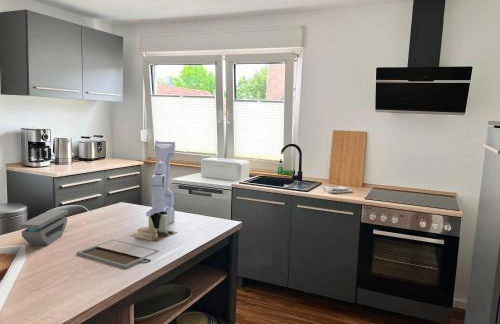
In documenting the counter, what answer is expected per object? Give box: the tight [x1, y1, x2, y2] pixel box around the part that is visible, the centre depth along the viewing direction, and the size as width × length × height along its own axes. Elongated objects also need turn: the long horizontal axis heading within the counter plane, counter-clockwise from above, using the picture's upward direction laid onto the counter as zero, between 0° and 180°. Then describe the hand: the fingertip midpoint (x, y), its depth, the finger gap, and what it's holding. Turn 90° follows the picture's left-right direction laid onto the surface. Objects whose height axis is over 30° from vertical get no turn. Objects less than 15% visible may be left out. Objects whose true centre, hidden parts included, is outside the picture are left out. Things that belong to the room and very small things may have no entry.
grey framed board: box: [75, 239, 160, 270], centre depth 156 cm, size 19×2×30 cm
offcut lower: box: [134, 231, 158, 241], centre depth 175 cm, size 5×9×2 cm, turn 64°
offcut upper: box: [137, 226, 157, 235], centre depth 174 cm, size 4×8×2 cm, turn 70°
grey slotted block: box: [19, 208, 69, 246], centre depth 169 cm, size 25×8×11 cm, turn 0°
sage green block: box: [148, 214, 169, 233], centre depth 182 cm, size 2×10×9 cm, turn 64°
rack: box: [129, 229, 179, 243], centre depth 180 cm, size 16×16×2 cm
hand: (158, 227), depth 182 cm, fingers closed on sage green block, 2 cm apart
